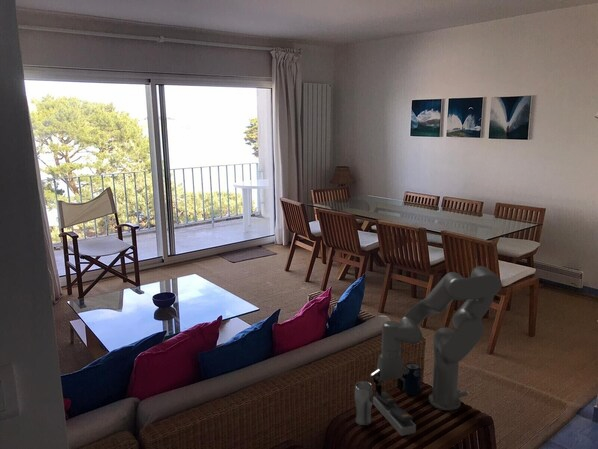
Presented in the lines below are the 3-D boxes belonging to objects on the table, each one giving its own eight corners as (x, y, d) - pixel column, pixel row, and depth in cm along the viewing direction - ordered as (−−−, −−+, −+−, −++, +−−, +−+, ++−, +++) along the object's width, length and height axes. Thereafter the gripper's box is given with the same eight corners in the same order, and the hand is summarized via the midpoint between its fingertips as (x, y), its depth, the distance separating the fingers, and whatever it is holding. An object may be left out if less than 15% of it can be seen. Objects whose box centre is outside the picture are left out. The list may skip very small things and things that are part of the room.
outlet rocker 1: (384, 394, 197) (384, 391, 197) (396, 403, 188) (396, 400, 188) (375, 396, 196) (375, 392, 196) (387, 405, 187) (387, 401, 187)
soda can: (422, 395, 203) (423, 368, 201) (406, 396, 202) (407, 369, 200) (416, 386, 210) (417, 361, 207) (401, 388, 209) (402, 362, 207)
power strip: (372, 403, 197) (372, 396, 197) (385, 401, 199) (386, 394, 198) (401, 436, 176) (401, 428, 175) (415, 432, 177) (415, 425, 177)
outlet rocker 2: (399, 410, 186) (399, 406, 186) (413, 419, 177) (412, 416, 177) (390, 411, 185) (389, 408, 185) (403, 421, 175) (403, 418, 175)
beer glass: (372, 427, 181) (372, 390, 178) (353, 425, 182) (353, 389, 180) (373, 417, 188) (373, 381, 185) (355, 415, 189) (355, 380, 186)
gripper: (405, 345, 200) (403, 383, 203) (367, 351, 195) (366, 389, 198) (414, 353, 193) (412, 392, 196) (375, 359, 188) (374, 399, 191)
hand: (389, 391), depth 197 cm, fingers open, 9 cm apart
